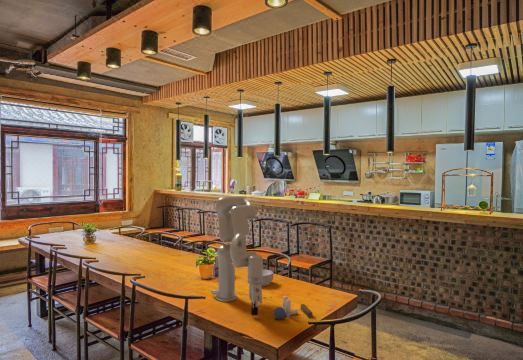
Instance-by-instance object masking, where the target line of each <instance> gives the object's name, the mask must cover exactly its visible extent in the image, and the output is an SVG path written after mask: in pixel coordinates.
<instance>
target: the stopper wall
mask: <svg viewBox="0 0 523 360" xmlns="http://www.w3.org/2000/svg"><path fill="white" fill-rule="evenodd" d="M300 310H301V311H302V312H303V313H304V314H305V315H306V316H307V318H308V319H309V318H313V312H312V310H311V309H309V307H308V306H307V305H305V303H300Z"/></svg>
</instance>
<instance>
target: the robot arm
mask: <svg viewBox="0 0 523 360" xmlns="http://www.w3.org/2000/svg"><path fill="white" fill-rule="evenodd" d="M215 209H216V210H215V211H216V215H217V218H218V235H219V240H220V241H221V242H222V243H226V244H222V245H220V246H219V247H218V248H217V251H216V252H217V255H218V262H219V276H218V289H212V290H211V291H210V292H211V294H212V295H213V296H214V295H215V299H216V300H217V301H220V302H223V303H225V302H228V303H229V302H234V301H236V300H237V299H238V295H237V294H236V292H235V291H236V289H235V287H236V285H235V284H236V277H235V276H236V269H235V268H245V267H247V284H249V286H248V298H249V299H250V303H251V309H250V310H251V311H250V313H251V316H258V315H259V303H260V304H262V303H263V288H262V287H263V286H261V283H262V277H263V276H262V275H263V270H264V269H263V267H264V266H263V265H264V260H263V256H262V255H261V254H258V253H257V252H256V251H253V250H252V251H247V237H246V236H248V235H249V234H250V233H251V230H250V225H249V220H254V219H255V218H256V215H257V214H256V208H255V207H254V205H253V204H252V203H251V202H250V201H249V200H248V199H247V198H246V197H244V196H222V197H219V198H218V199H217V200H216V202H215ZM227 243H228V244H227Z"/></svg>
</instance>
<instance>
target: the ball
mask: <svg viewBox="0 0 523 360" xmlns="http://www.w3.org/2000/svg"><path fill="white" fill-rule="evenodd" d="M273 317H274V318H275V319H277V320H283V319H284V317H286V315H285V310H284V309H283V306H278V307H277V306H276V307H275V308H274V309H273Z"/></svg>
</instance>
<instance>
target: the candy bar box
mask: <svg viewBox="0 0 523 360" xmlns="http://www.w3.org/2000/svg"><path fill="white" fill-rule="evenodd" d="M214 252H215V254H217V251H214ZM212 277H215V278H216V277H219V262H218V256H217V257H215V264H214V266H213V276H212Z"/></svg>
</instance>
